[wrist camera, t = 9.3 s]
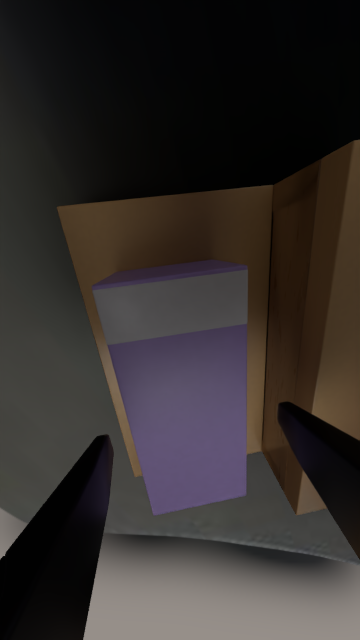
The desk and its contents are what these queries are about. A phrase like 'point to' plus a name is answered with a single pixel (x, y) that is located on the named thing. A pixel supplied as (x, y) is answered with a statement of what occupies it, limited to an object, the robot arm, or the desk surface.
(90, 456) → the robot arm
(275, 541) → the desk surface
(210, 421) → the purple box
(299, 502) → the step shelf
